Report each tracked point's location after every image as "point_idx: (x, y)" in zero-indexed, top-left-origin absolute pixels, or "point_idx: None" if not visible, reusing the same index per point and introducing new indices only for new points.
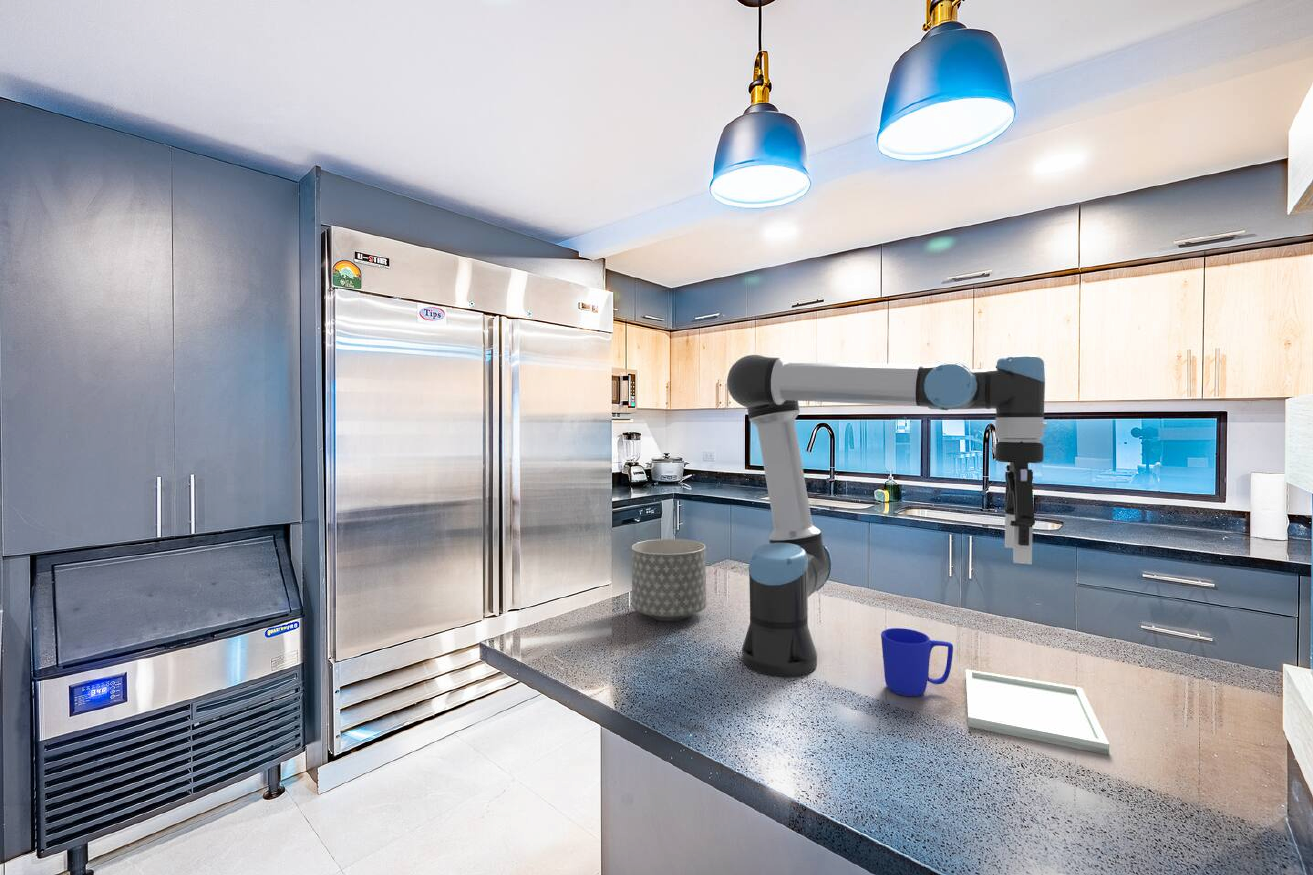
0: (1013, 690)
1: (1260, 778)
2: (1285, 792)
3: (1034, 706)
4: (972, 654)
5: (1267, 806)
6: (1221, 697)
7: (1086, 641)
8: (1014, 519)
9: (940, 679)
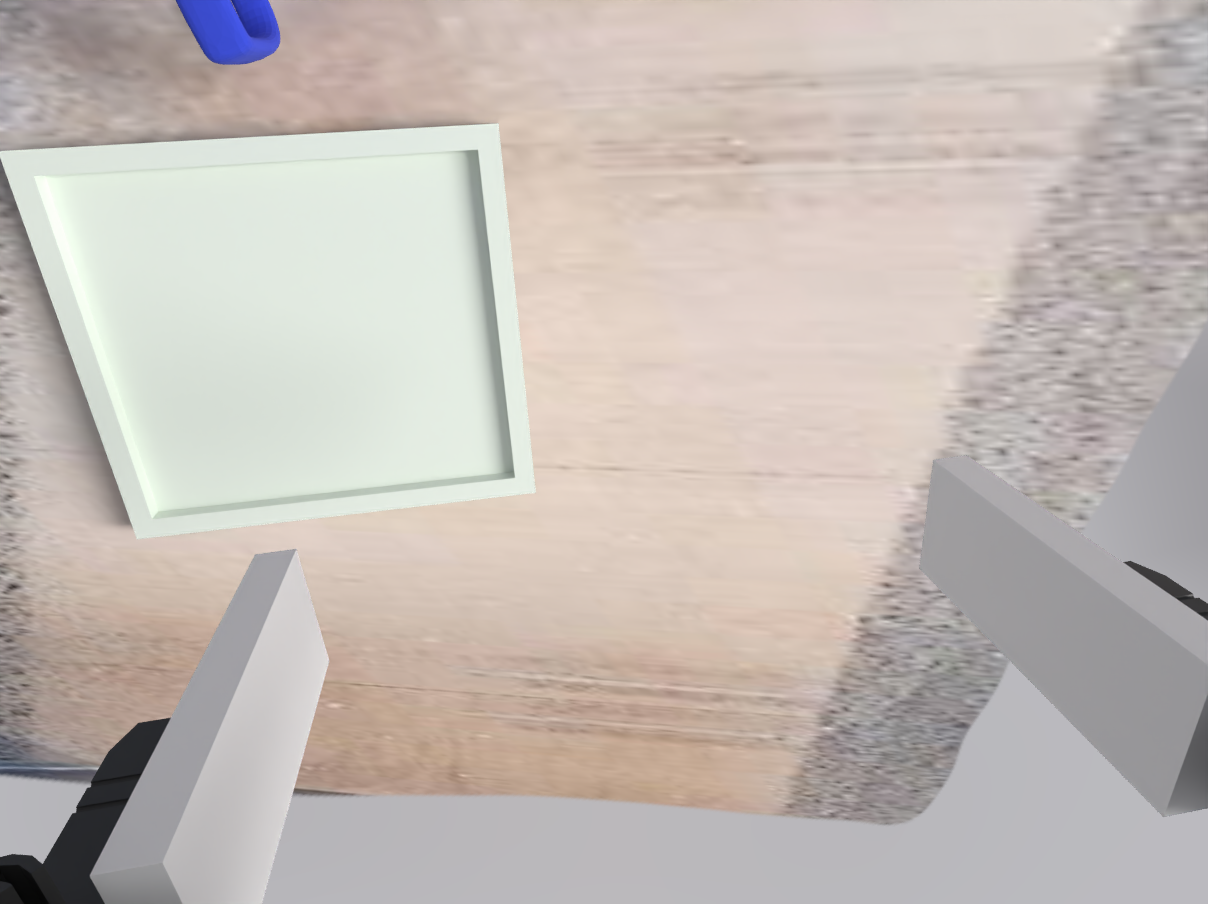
0: (423, 298)
1: None
2: None
3: (322, 360)
4: (770, 142)
5: None
6: (708, 743)
7: None
8: (1137, 710)
9: (250, 18)
